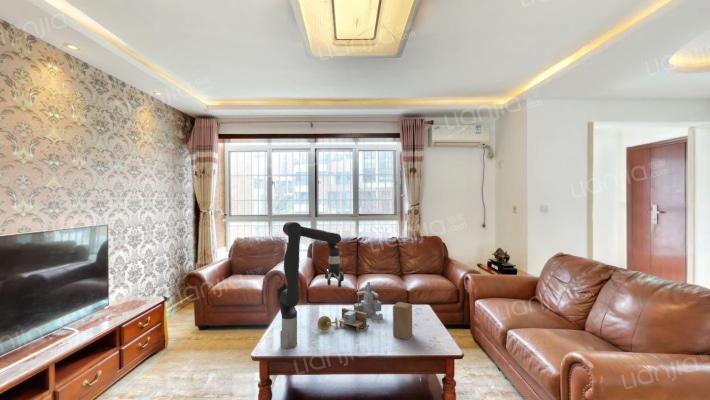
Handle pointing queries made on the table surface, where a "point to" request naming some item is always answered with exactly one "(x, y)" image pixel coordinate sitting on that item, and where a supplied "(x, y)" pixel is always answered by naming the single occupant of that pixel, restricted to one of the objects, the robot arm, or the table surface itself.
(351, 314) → the grey rectangular box
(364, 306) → the castle model
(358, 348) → the table surface
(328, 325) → the wall sconce
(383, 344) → the table surface
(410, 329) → the block
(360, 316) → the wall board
